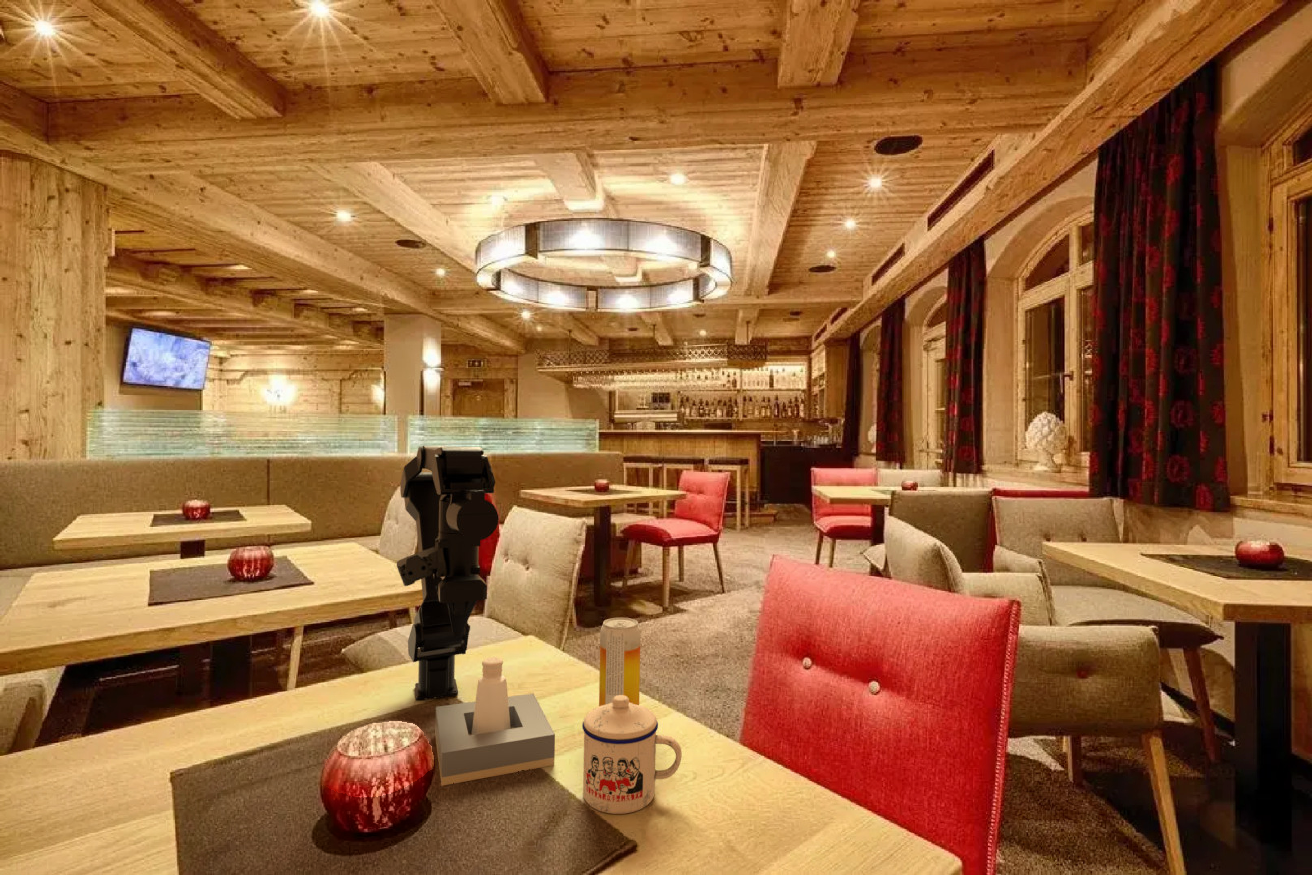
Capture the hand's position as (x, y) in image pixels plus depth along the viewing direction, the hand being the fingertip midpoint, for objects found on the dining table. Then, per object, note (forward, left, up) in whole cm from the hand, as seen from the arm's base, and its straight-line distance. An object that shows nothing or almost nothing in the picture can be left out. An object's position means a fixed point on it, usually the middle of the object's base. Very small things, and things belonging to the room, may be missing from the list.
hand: (457, 635), depth 93 cm
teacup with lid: (+27, +18, -13) cm, 35 cm away
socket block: (+10, +4, -13) cm, 17 cm away
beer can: (+8, +23, -13) cm, 28 cm away
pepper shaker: (+9, +4, -12) cm, 16 cm away
